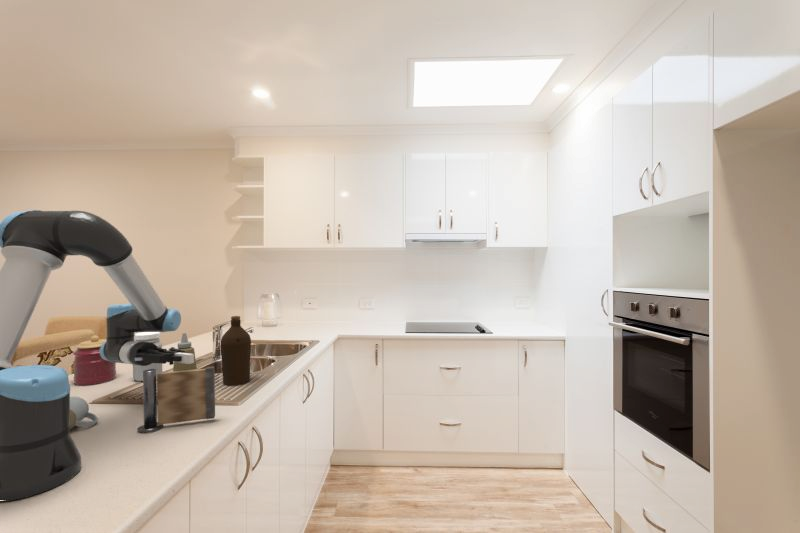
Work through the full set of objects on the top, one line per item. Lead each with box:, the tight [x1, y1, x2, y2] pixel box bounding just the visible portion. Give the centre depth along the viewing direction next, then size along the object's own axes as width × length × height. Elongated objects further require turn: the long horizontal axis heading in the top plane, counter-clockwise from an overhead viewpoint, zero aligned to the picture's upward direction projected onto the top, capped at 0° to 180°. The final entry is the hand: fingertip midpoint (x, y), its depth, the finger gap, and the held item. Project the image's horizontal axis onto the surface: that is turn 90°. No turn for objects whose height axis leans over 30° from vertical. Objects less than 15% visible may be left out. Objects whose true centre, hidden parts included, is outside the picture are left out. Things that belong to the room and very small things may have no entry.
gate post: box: [136, 369, 164, 434], centre depth 103 cm, size 6×6×16 cm
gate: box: [156, 365, 216, 425], centre depth 106 cm, size 14×2×14 cm, turn 108°
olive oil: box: [220, 315, 252, 387], centre depth 143 cm, size 11×11×25 cm
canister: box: [72, 334, 117, 386], centre depth 146 cm, size 13×13×18 cm
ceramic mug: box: [70, 396, 98, 430], centre depth 105 cm, size 11×8×8 cm
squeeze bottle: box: [172, 332, 198, 371], centre depth 147 cm, size 8×8×18 cm
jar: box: [132, 332, 163, 383], centre depth 148 cm, size 10×10×18 cm
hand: (191, 358), depth 114 cm, fingers closed
